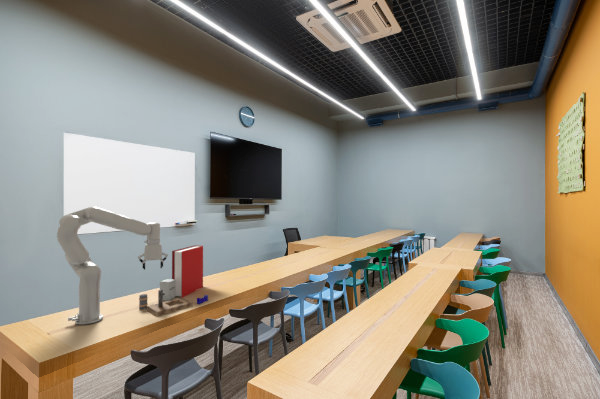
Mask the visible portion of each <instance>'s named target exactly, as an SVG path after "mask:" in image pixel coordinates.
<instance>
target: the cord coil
mask: <svg viewBox="0 0 600 399" xmlns="http://www.w3.org/2000/svg"><path fill="white" fill-rule="evenodd" d="M148 298H149V297H148V294H146V293H142V294H139V297H138V300H139V303H138V308H139V310H145V309H147V306H149V304H148Z"/></svg>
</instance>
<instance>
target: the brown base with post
mask: <svg viewBox="0 0 600 399" xmlns="http://www.w3.org/2000/svg"><path fill="white" fill-rule="evenodd" d="M157 292H158V293H157V295H158V297H157V298H158V302H157V303H154V304H151V305H147V308H146V309H147V311H148V312H149V313H151V314H152V315H154V316H156V317H159V316H163V315H166V314H170V313H174V312H176V311H179V310H182V309H186V308H190V307H193V302H192V301H191V300H188V299H187V298H184V297H179V298H178V297H177V298H173V299H171V300H169V301H164V300H163V295H165V293H163V290H160V289H158V291H157Z"/></svg>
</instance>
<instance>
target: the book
mask: <svg viewBox="0 0 600 399" xmlns="http://www.w3.org/2000/svg"><path fill="white" fill-rule="evenodd" d="M171 279H175V297H180V298H184V297H186V296H188V295H190V294H192V293H195V292H196V291H198V290H200V289H202V288H204V245H201V244H200V245H199V244H198V245H197V244H195V245H191V246H190V245H189V246H187V247H183V248H178V249H175V250H172V251H171Z"/></svg>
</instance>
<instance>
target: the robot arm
mask: <svg viewBox="0 0 600 399" xmlns="http://www.w3.org/2000/svg"><path fill="white" fill-rule="evenodd" d="M89 223H95V224H99V225H102V226H105V227H109V228H112V229H115V230H121V231H125V232H130V233H133V234H135V235H136V236H137V235H138V236H143V237H144V236H146V240H144V241H143V242H144V243H146V244H145V245H144V253H141V254H140V255H138V256H137V259H138V261H139V262H140V263H141V264H142V269H143V270H146V262H147V261H160V269H162V268H163V267H164V261H165V260H166V259H167V258H168V257H169V254H168V253H165V252H163V247H162V243H161V232H160V231H161V224H160V223H159V222H148V223H147V222H146V223H145V222H142V221H140V220H136V219H134V218H130V217H128V216H125V215H122V214H119V213H116V212H113V211H110V210H107V209H104V208H100V207H97V206H89V207H87V208H83V209H80V210H78V211H73V212H72V213H68V214H65V215H63V216H62V217H61V218H60V219H59V223H58V224H59V227H58V229H57V233H56V237H57V238H56V239H57V242H58V244H59V245H60V247H61V249H62V250H63V252H64V257H65V259H66V261H67V262H68V265H69V266H70V267H71V269H72V270H73V271H74V273H75V274H76V276H78V277H79V283H78V284H79V285H78V313H76V315H75V316H69V317H67V322H75V324H76V325H90V324H94V323H97V322H100V321H101V320H103V318H104V315H103V314H101V298H100V297H101V290H100V288H101V278H102V271H101V268H100V266H99V265H98V264H96V263H94V262H93V261H92V260H91V257H90V253H89V251H88V249H87V248H86V247H85V245H84V244H83V243H82V241H81V239H80V237H79V234H78V231H79V229H80V228H81V226H83V225H86V224H89ZM163 256H164V257H163ZM142 258H143V259H142Z"/></svg>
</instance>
